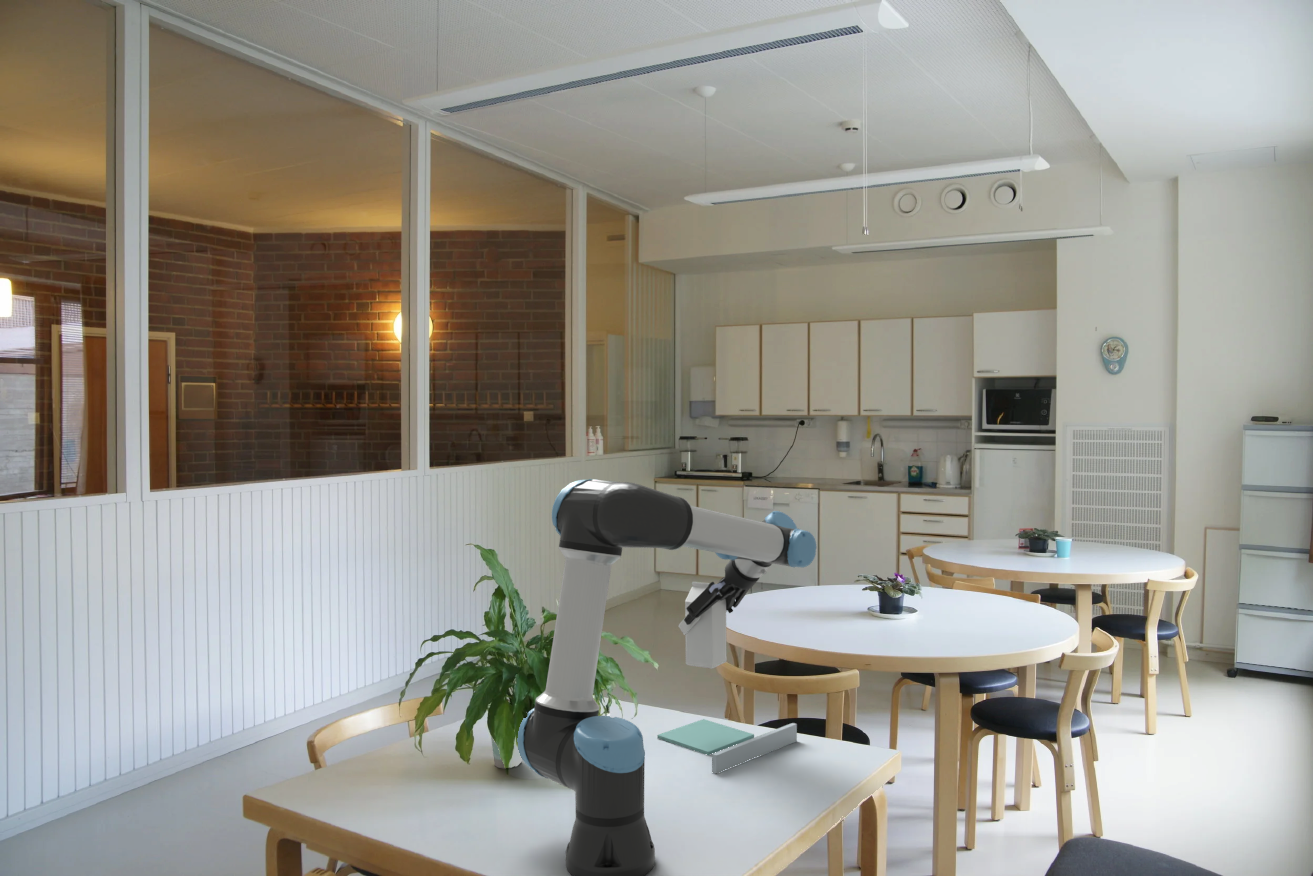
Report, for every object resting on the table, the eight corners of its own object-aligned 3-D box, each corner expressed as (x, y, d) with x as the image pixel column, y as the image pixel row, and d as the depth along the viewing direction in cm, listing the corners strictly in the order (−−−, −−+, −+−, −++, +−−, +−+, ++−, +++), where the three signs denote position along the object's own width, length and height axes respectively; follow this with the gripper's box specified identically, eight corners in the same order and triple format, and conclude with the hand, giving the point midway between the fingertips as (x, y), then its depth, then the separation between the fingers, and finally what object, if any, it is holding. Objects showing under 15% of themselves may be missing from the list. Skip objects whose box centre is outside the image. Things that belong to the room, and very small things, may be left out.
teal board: (708, 755, 211) (708, 751, 211) (657, 738, 222) (657, 735, 222) (754, 737, 222) (754, 734, 222) (703, 722, 234) (703, 719, 234)
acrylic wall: (716, 774, 200) (716, 755, 200) (711, 772, 201) (711, 754, 201) (796, 741, 220) (796, 724, 220) (792, 740, 221) (792, 723, 220)
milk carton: (712, 669, 217) (711, 586, 217) (685, 665, 221) (684, 584, 220) (726, 662, 223) (726, 582, 223) (700, 658, 227) (699, 579, 226)
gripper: (725, 586, 203) (672, 648, 215) (785, 573, 218) (733, 632, 230) (706, 559, 207) (655, 621, 218) (767, 548, 222) (716, 607, 233)
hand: (695, 626), depth 224 cm, fingers closed on milk carton, 8 cm apart
